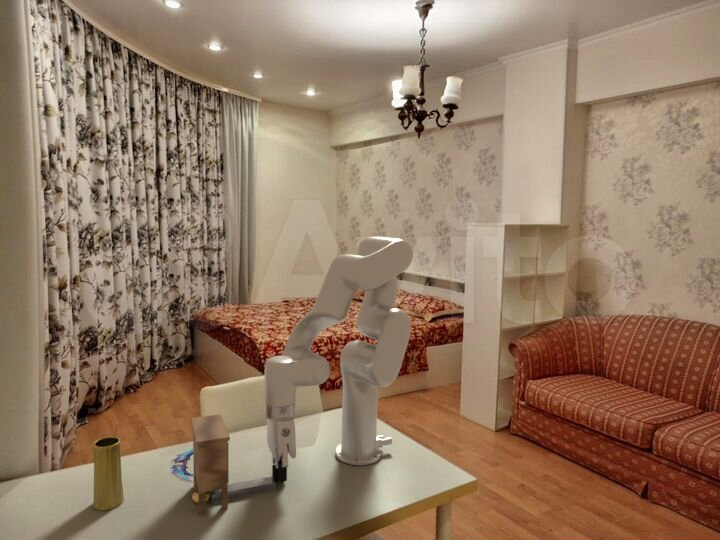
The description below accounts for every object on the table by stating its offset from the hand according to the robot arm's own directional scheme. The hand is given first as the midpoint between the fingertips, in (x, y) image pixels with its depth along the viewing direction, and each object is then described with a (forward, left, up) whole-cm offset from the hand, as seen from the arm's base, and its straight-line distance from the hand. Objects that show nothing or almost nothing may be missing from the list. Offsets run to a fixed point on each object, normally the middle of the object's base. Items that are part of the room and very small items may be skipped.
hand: (279, 480), depth 118 cm
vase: (+37, -6, -1) cm, 38 cm away
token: (+18, 0, -1) cm, 18 cm away
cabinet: (+16, 0, -1) cm, 16 cm away
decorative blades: (+20, -18, -1) cm, 27 cm away
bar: (+9, +1, -1) cm, 9 cm away
